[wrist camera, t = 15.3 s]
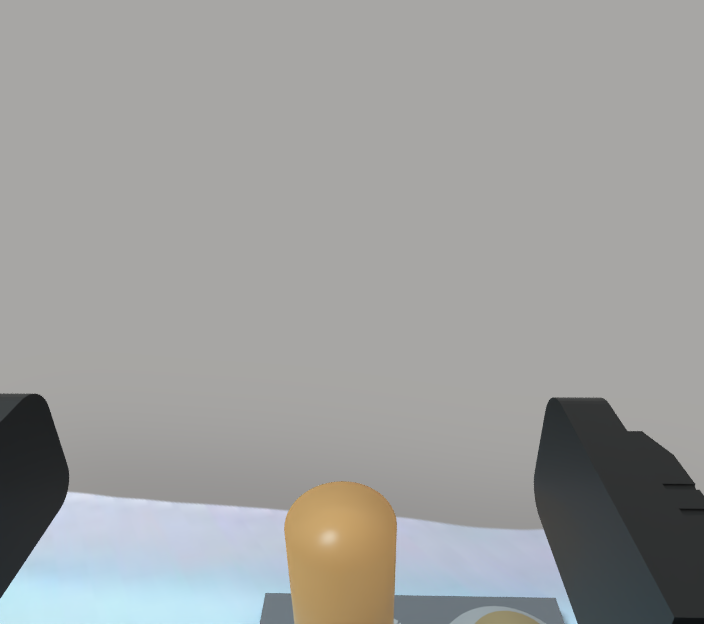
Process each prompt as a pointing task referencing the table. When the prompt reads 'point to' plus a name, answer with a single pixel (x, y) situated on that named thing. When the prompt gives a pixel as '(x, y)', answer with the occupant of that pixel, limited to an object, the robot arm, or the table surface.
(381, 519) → the cylinder
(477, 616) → the housing
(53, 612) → the table surface
